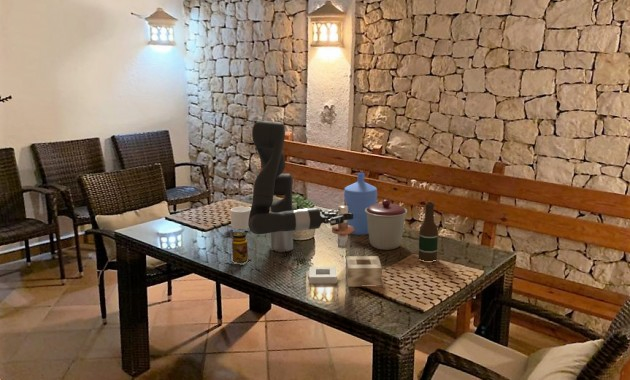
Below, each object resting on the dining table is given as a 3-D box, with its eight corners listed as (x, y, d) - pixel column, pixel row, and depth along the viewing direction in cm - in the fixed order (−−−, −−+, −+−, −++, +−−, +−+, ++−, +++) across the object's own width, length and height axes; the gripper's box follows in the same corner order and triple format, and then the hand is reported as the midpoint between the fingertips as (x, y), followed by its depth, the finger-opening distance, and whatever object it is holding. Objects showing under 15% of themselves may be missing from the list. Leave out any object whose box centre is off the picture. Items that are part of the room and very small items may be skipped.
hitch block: (348, 286, 192) (348, 268, 190) (346, 273, 204) (346, 256, 202) (381, 286, 192) (381, 267, 190) (377, 273, 204) (377, 256, 202)
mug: (243, 233, 253) (243, 213, 250) (227, 230, 258) (226, 210, 255) (259, 226, 263) (258, 206, 261) (243, 224, 268) (242, 204, 266)
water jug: (382, 228, 259) (383, 172, 252) (367, 237, 246) (368, 178, 239) (353, 223, 267) (354, 169, 260) (338, 232, 254) (338, 174, 247)
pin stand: (309, 283, 195) (309, 277, 194) (309, 273, 205) (309, 266, 204) (336, 283, 195) (336, 276, 194) (335, 272, 205) (335, 266, 204)
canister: (371, 237, 245) (372, 193, 241) (410, 242, 239) (411, 196, 234) (359, 250, 229) (359, 202, 224) (400, 255, 222) (401, 206, 218)
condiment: (244, 266, 213) (243, 237, 210) (225, 263, 215) (223, 235, 212) (251, 259, 219) (250, 231, 217) (233, 257, 222) (231, 230, 219)
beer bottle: (433, 264, 212) (435, 206, 207) (414, 260, 216) (416, 203, 211) (439, 258, 219) (442, 202, 213) (421, 255, 223) (424, 199, 217)
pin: (332, 250, 192) (332, 209, 188) (331, 243, 199) (331, 203, 196) (354, 250, 191) (354, 209, 188) (353, 243, 199) (353, 203, 196)
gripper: (311, 214, 181) (358, 209, 186) (299, 204, 194) (343, 199, 199) (312, 235, 182) (358, 229, 188) (299, 223, 195) (343, 219, 201)
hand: (350, 214), depth 193 cm, fingers closed on pin, 3 cm apart
